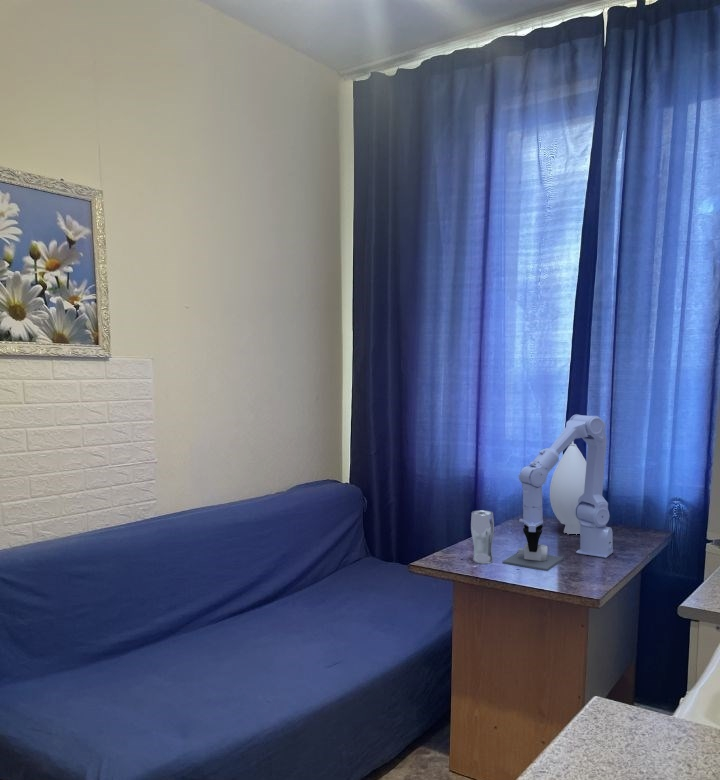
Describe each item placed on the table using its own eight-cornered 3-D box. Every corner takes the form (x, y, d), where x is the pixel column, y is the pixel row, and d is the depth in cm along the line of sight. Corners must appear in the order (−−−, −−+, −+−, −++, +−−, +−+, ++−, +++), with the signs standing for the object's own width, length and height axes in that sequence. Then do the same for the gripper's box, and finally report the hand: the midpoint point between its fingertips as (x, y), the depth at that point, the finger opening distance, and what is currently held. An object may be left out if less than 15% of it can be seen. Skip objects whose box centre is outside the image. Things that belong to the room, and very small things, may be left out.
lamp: (541, 533, 231) (540, 435, 230) (565, 525, 241) (564, 432, 240) (582, 541, 219) (581, 438, 218) (605, 532, 230) (604, 435, 229)
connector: (547, 558, 197) (547, 545, 197) (547, 561, 194) (547, 548, 194) (518, 555, 200) (518, 542, 200) (518, 558, 196) (518, 545, 196)
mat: (563, 559, 198) (563, 557, 198) (547, 571, 187) (547, 569, 187) (520, 552, 207) (520, 550, 207) (502, 563, 195) (502, 561, 195)
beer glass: (467, 559, 200) (466, 511, 200) (486, 556, 203) (486, 509, 202) (479, 565, 194) (478, 516, 193) (498, 562, 196) (498, 513, 196)
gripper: (520, 500, 204) (520, 542, 205) (518, 510, 191) (518, 555, 191) (543, 501, 202) (543, 544, 203) (542, 511, 189) (543, 557, 189)
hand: (533, 549), depth 197 cm, fingers closed on connector, 3 cm apart
